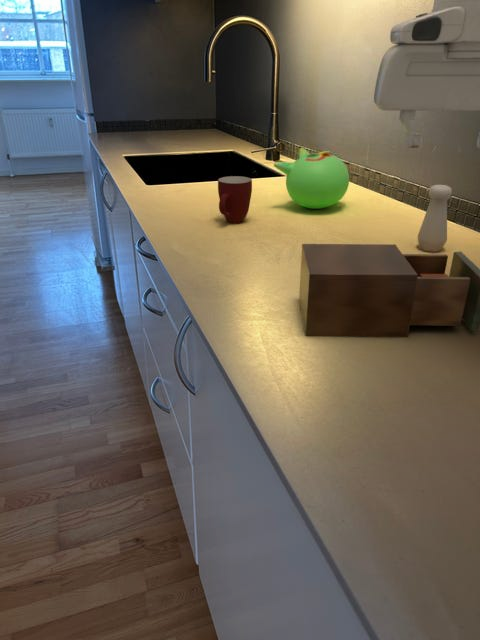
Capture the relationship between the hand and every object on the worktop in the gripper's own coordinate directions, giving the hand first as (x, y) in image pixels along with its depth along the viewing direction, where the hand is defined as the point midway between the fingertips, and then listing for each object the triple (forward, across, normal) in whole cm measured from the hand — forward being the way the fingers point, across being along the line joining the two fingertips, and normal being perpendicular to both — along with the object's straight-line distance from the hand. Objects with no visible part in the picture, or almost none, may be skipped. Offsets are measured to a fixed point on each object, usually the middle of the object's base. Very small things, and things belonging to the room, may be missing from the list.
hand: (447, 147), depth 67 cm
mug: (+25, +30, -50) cm, 64 cm away
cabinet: (+25, +10, 0) cm, 27 cm away
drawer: (+24, -3, 0) cm, 24 cm away
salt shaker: (+25, -12, -32) cm, 42 cm away
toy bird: (+25, +10, -65) cm, 70 cm away
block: (+23, -2, 0) cm, 23 cm away
